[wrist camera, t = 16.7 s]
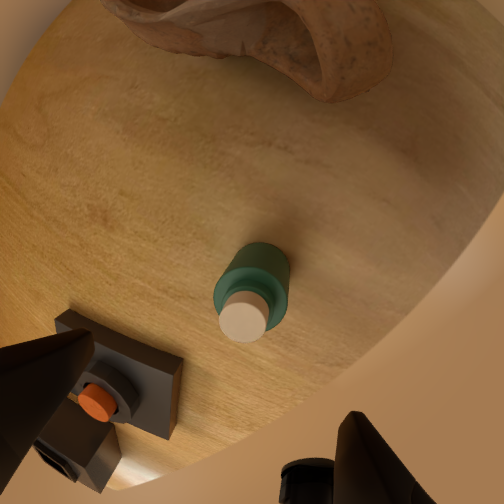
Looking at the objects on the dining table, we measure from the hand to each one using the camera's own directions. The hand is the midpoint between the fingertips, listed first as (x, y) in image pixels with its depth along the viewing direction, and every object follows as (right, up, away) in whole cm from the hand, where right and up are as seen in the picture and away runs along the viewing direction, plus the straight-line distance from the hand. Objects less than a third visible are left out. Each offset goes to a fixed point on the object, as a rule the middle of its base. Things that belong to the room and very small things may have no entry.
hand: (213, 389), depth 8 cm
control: (-11, -7, +15) cm, 20 cm away
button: (-12, -8, +11) cm, 18 cm away
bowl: (+2, +20, +5) cm, 21 cm away
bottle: (+2, +3, +10) cm, 10 cm away
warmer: (-23, -20, +20) cm, 36 cm away
